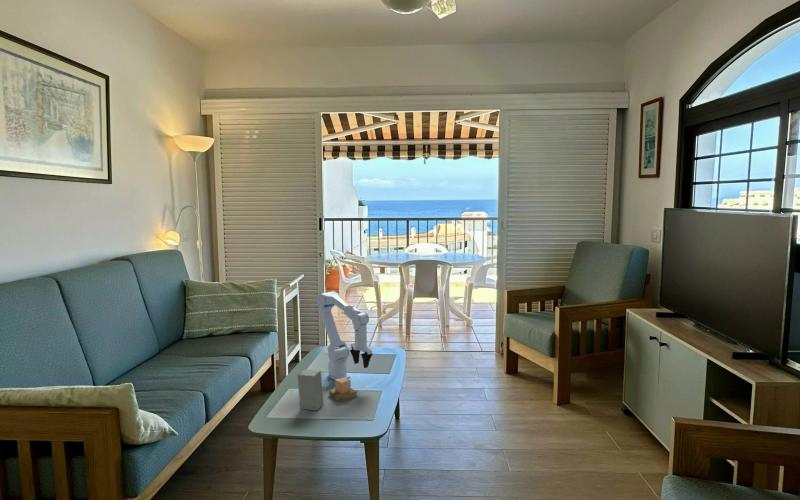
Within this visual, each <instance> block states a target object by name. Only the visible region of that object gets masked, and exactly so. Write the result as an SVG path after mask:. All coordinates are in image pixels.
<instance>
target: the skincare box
mask: <svg viewBox="0 0 800 500" xmlns="http://www.w3.org/2000/svg"><path fill="white" fill-rule="evenodd" d="M297 385H298V394H299V395H298V397H299V407H300V408H299V409H301V410H307V411H308V410H309V411H310V410H311V411H317V410H319V409H320V408H321V407H322V406H324V394H323V385H322V371H321V370H318V369H317V370H314V369H306V368H305V369H303V370H302V371H301V372H299V373H298V374H297Z"/></svg>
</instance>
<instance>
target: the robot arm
mask: <svg viewBox="0 0 800 500" xmlns="http://www.w3.org/2000/svg"><path fill="white" fill-rule="evenodd" d="M315 301H316V304H317V307H318V310H319V314H320V316H321V320H322V322H323V325H324V328H325V331H326V334H327V337H328V340H329V344H328V346H327V353H328V354H327V356H328V359H329V361H328V374H327V375H326V377H328V378H330V379H332V380H334V381H335V380H337V379H340V378H343V377H345V378H347V379H349V378H351V376H350V375H348V371H347V360H348V357H350V355H351V357H352V361H353V363H354V365H357V364H360V363H359V362H360V356H361V359H362V365H363V368H364V369H366V368H368V367H369V364H370V361H371V358H372V356H373V350H372V349H371V348H370V347H368V339H367V337H368V336H367V335H368V334H367V332H368V331H367V329H368V326H367V324H368V323H369V321H370V317H369V314H368V313H367V312H365V311H361V310H359V309H358V308H356V307H355V306H354V304H348V303H346V301H344V300H343V299H342V298H341V297H340V294H339V293H338V292H336V291H335V290H331V291H327V292H322V293H320V292H319V293H318V294H317V295H316V299H315ZM335 306H336V307H337V308H339V309H340V310H342V312H343V314H344V315H345V316H346V317H347V318H348V319H350V320H351V323H352V324H353V329H354V343H350V349H349V347H348V346H347V344H346V342H345V341H344V340H342V339H341V338H340V335H339V331H338V328H337V325H336V322H335V319H334V316H333V313H332V309H333V308H334V307H335ZM361 352H363V353H361Z"/></svg>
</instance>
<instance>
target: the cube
mask: <svg viewBox="0 0 800 500" xmlns="http://www.w3.org/2000/svg"><path fill="white" fill-rule="evenodd" d="M351 386H352V384H351V379H349V378H345V377H343V378H340V379H337V380H334V389H335V391H337V392H339V393H341V394H343V393H346V392H349V391H351V388H352V387H351Z"/></svg>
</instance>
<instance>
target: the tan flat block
mask: <svg viewBox="0 0 800 500" xmlns="http://www.w3.org/2000/svg"><path fill="white" fill-rule="evenodd" d="M357 391H358V390H355V389H354V388H352V387H351V391H349V392H346V393H343V394H341V393H339V392H337V391H335V388H333V389H329V390H328V395H329V397H330V398H333V399H334V400H336V401H337V402H340V403H341V402H343V401H347V400H350V399H354V398H356V397H358V395H357V393H358V392H357Z"/></svg>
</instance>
